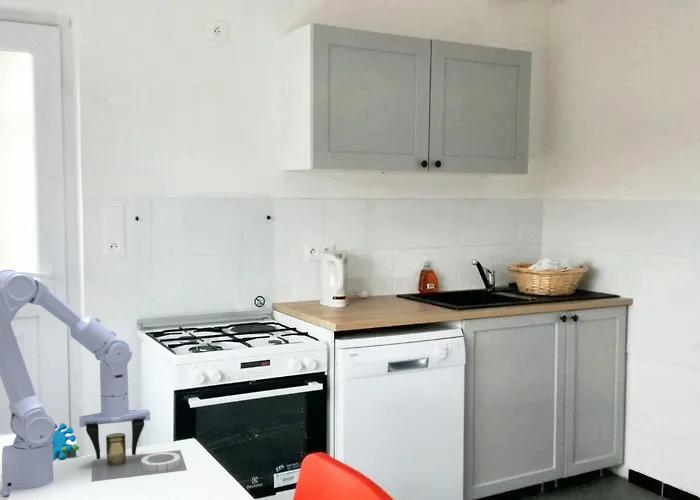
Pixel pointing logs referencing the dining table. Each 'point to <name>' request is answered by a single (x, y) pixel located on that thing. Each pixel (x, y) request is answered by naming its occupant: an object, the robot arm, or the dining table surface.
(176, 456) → the housing plate
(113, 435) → the brass shaft
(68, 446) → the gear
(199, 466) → the dining table surface
